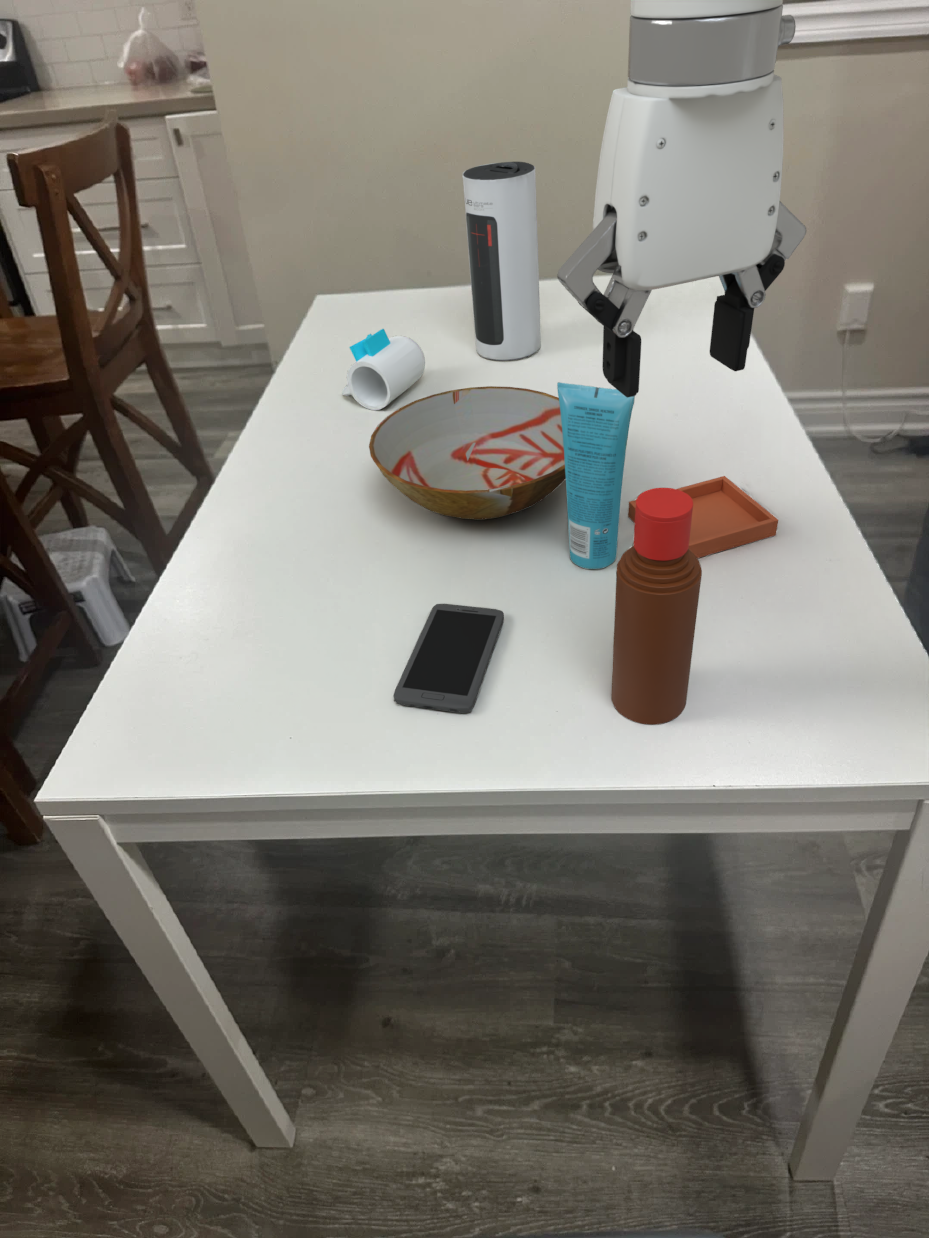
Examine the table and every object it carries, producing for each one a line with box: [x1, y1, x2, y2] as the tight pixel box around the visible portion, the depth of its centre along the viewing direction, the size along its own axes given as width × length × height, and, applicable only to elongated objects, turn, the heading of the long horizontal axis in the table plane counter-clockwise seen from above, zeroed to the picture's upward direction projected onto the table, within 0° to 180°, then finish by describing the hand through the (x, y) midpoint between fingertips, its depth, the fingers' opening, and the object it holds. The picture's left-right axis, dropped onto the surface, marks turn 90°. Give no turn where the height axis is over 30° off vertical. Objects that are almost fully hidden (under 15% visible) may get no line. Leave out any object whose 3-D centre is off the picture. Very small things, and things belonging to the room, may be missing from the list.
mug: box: [341, 328, 426, 411], centre depth 126 cm, size 12×9×12 cm
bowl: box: [368, 385, 566, 521], centre depth 101 cm, size 25×25×8 cm
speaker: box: [462, 161, 542, 362], centre depth 128 cm, size 11×10×26 cm
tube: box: [556, 381, 636, 570], centre depth 86 cm, size 7×5×19 cm, turn 71°
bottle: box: [610, 544, 703, 726], centre depth 69 cm, size 6×6×20 cm
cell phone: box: [393, 603, 505, 714], centre depth 81 cm, size 7×14×1 cm, turn 165°
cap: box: [633, 487, 693, 561], centre depth 64 cm, size 4×4×4 cm
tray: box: [627, 475, 779, 559], centre depth 94 cm, size 12×10×2 cm
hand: (674, 374), depth 56 cm, fingers open, 7 cm apart
